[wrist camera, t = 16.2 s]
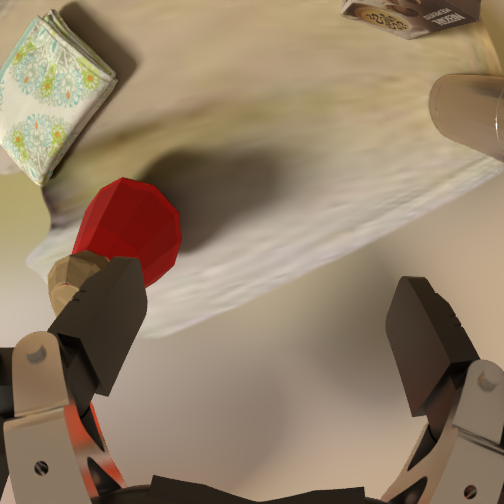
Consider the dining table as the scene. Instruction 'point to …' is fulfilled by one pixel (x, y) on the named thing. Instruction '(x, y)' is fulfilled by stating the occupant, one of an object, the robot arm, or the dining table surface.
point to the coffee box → (412, 14)
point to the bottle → (119, 237)
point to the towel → (49, 94)
